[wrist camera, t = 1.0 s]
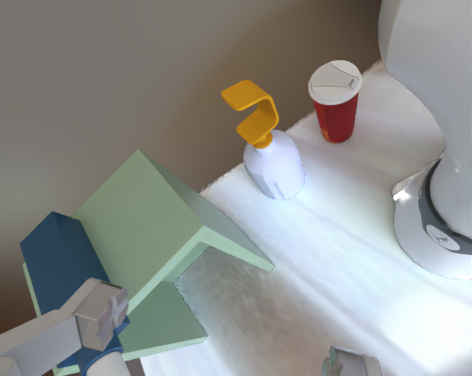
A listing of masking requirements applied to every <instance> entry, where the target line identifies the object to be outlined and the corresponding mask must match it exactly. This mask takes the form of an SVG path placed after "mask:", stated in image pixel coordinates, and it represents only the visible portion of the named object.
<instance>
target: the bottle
mask: <svg viewBox="0 0 472 376" xmlns="http://www.w3.org/2000/svg"><path fill="white" fill-rule="evenodd" d="M20 246H21V250H22V253H23V256H24V260H25V263H26V266H27V269H28V273H29V276H30V279H31V283H32V286H33V289H34V293H35V296H36V299H37V303H38V306H39V309H40V313H41V315H44V314H46V313H48V312H50V311H52V310H54V309H56V310H59V309H60V308H61V307H62V306H63V305H64V304H65V303H66V302H67V301H68V300H69V298H70V297H71V296H72V295H73V294H74V293H75V292H76V291H77V290H78V289H79V288H80V287H81V286H82V285H83V284H84V283H85V282H86V280H88V279H90V278H91V277H92V278H95V279H99V280H102V281H105V282H109V283H111V282H110V280H109V278H108V276H107V274H106V272H105V270H104V268H103V266H102V264H101V262H100V260H99V258H98V256H97V254H96V252H95V250H94V248H93V246H92V244H91V242H90V240H89V238H88V236H87V234H86V232H85V230H84V228H83V226H82V224H81V222H80V220H77V219H74V218H71V217H68V216H65V215H62V214H59V213H56V212H53V211H52V212H51V213H50V214H49V215H48V216H47V217H46V218H45V219H44V220H43V221H42V222H41V223H40V224H39V225H38V226H37V227H36V228H35V229H34V230H33V231H32V232H31V233H30V234H29V235H28V236H27V237H26V238H25V239H24V240H23V241H22V242H21V243H20ZM129 324H130V320H129V318H128V316H127V314H126V316H125V319H124V320H123V322H122V323H121V325H120V326H118V327H117V328H115V329H113V337H112V339H111V340H110V342H109V343H108V345H107V346H106V348H105V349H104V351H103V352H101V351H97V350H93V349H90V348H86V347H83V346H82V348H81V349H79V350H78V351H76V352H75V353H73V354H72V355H70V356H69V357H67V358H66V359H65V360H63V361H62V362H60V363H59V364H57V365H56V366H57V369H59V368H64V367H68V366H73V365H78V367H79V370H80V373H81V375H82V376H131V375H130V373H129V371H128V369H127V366H126V364H125V362H124V360H123V357H122V353H123V350H124V349H123V346H122V344H121V342H120V339H119V337H118V335H119V334H120V333H121V332H122V331H123V330H124V329H125V328H126V327H127V326H128V325H129Z"/></svg>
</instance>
